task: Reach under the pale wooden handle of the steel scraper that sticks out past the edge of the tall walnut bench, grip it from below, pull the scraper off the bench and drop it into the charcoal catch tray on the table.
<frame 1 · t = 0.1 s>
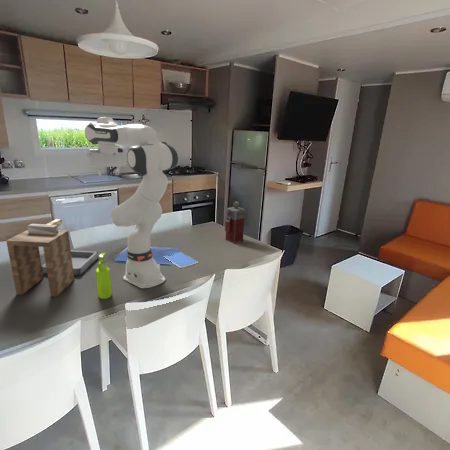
hand: (108, 175, 164), 48 cm above the table, tool pointing down, fingers open, 8 cm apart
blue notebook: (180, 261, 178), on the table
catch tray: (71, 265, 165), on the table
soap dispenser: (105, 295, 138), on the table
scraper: (48, 230, 141), point 26 cm above the table, touching walnut bench
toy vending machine: (233, 240, 212), on the table
walnut bench: (46, 286, 143), on the table
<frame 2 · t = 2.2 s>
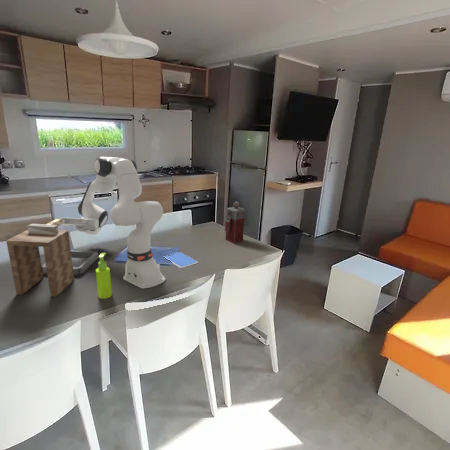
hand: (72, 219, 162), 25 cm above the table, tool pointing upward, fingers open, 8 cm apart
nothing on the table moved.
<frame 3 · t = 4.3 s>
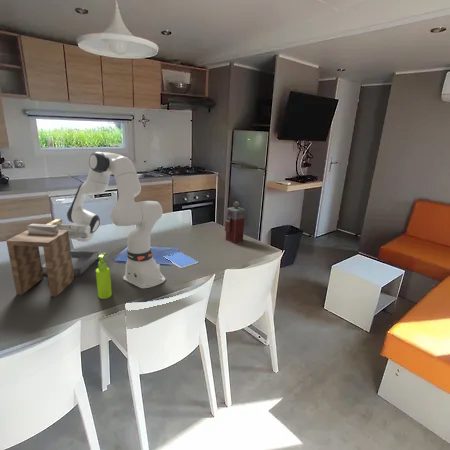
hand: (61, 225, 152), 25 cm above the table, tool pointing upward, fingers open, 8 cm apart
nothing on the table moved.
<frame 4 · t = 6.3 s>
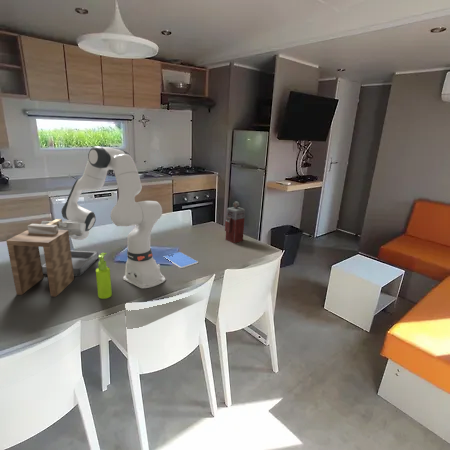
hand: (54, 223, 146), 28 cm above the table, tool pointing upward, fingers closed on scraper, 2 cm apart
scraper: (48, 230, 141), point 26 cm above the table, touching gripper, walnut bench
everything else where it was.
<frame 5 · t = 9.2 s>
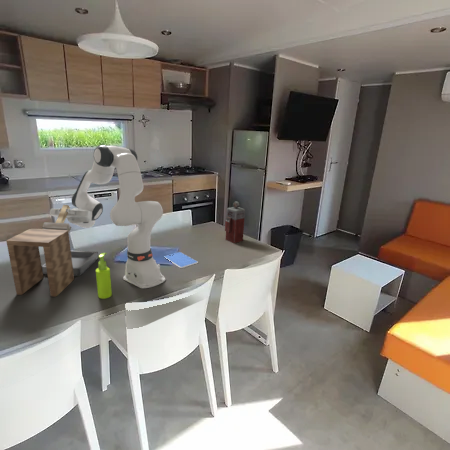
hand: (63, 210, 154), 32 cm above the table, tool pointing upward, fingers closed on scraper, 2 cm apart
scraper: (61, 223, 152), point 26 cm above the table, tilted 38°, touching gripper
everything else where it was.
when the fingers open (22 cm above the table, at t = 12.3 s): scraper drops 14 cm, resting on catch tray.
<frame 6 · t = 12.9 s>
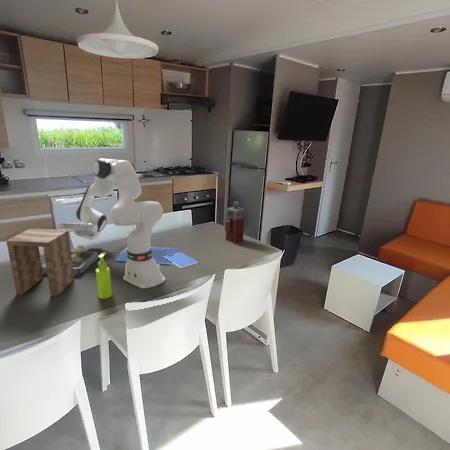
hand: (70, 224, 161), 22 cm above the table, tool pointing upward, fingers open, 8 cm apart
scraper: (73, 259, 166), point 2 cm above the table, tilted 14°, touching catch tray
everything else where it was.
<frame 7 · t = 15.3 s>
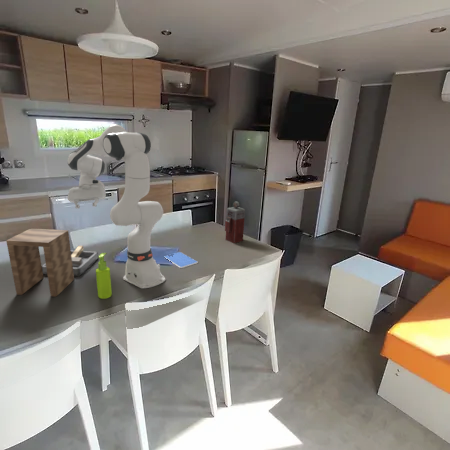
hand: (85, 207, 165), 31 cm above the table, tool tilted 40°, fingers open, 8 cm apart
nothing on the table moved.
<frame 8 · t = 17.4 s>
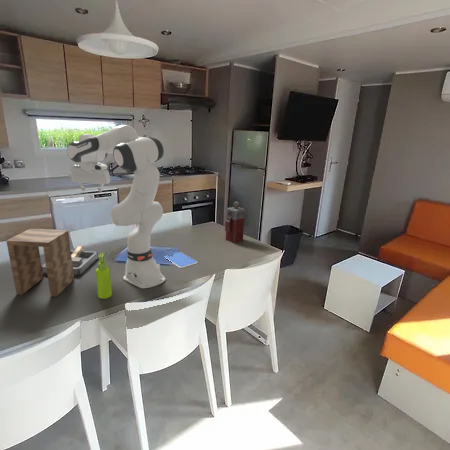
hand: (91, 191, 165), 39 cm above the table, tool pointing down, fingers open, 8 cm apart
nothing on the table moved.
at the end: scraper 2.5 cm from the catch tray (horizontally); scraper point 2.2 cm above the table; the gripper is holding nothing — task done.
